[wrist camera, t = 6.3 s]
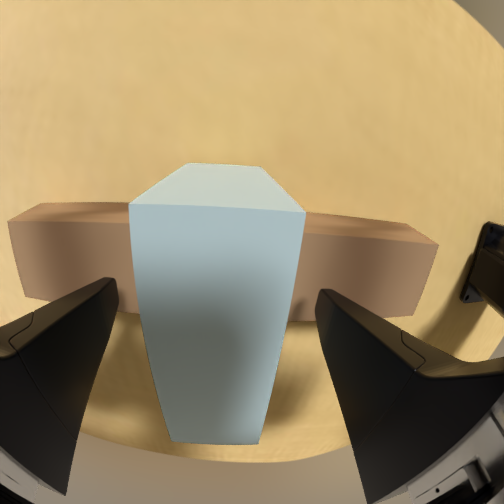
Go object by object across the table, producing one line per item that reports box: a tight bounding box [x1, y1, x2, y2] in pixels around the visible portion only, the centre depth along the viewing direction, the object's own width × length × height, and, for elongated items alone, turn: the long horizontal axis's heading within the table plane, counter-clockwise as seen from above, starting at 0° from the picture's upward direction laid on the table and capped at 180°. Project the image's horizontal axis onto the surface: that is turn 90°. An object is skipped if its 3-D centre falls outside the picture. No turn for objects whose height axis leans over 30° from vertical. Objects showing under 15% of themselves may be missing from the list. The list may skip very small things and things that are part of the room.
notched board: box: [7, 202, 439, 321], centre depth 12 cm, size 20×4×3 cm, turn 85°
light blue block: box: [129, 163, 306, 445], centre depth 9 cm, size 3×8×7 cm, turn 175°
